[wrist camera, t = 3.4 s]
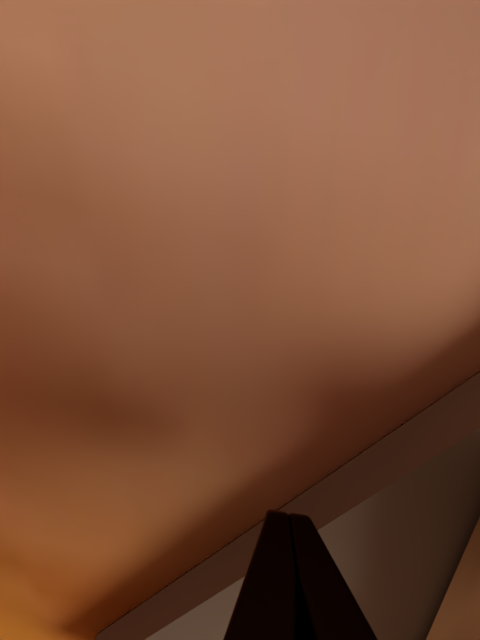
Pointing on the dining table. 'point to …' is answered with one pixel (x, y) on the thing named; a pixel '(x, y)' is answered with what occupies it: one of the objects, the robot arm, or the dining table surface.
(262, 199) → the dining table surface
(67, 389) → the dining table surface
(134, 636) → the keeper baseplate
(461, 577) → the birch latch bar
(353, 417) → the dining table surface
